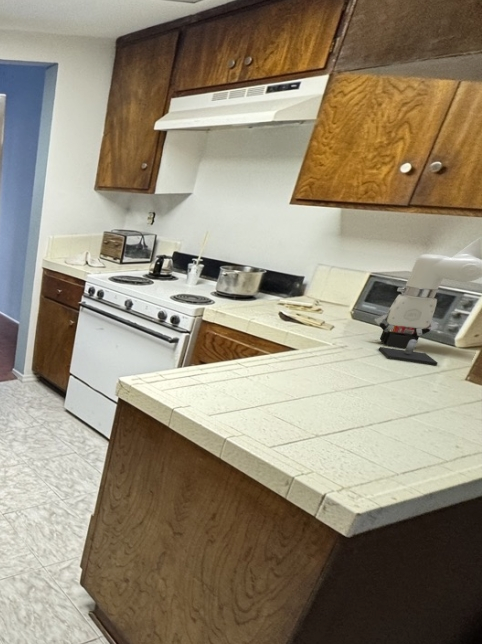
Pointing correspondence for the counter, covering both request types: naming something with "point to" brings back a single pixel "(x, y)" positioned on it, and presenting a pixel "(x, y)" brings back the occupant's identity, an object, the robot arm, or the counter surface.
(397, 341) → the top pad
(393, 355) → the base pad
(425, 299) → the robot arm
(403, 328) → the soda can
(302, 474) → the counter surface
